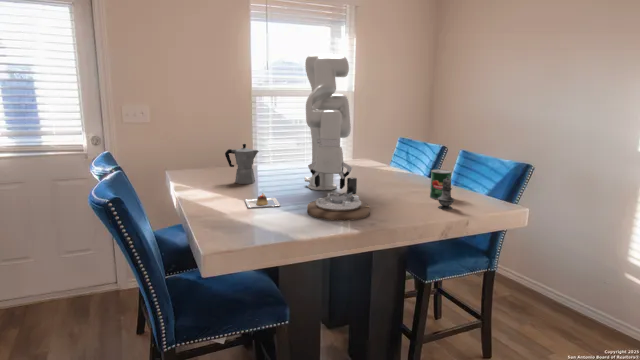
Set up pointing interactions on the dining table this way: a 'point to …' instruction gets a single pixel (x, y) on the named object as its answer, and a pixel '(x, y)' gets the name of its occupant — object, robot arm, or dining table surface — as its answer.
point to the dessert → (262, 201)
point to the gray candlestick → (446, 195)
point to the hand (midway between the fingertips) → (329, 187)
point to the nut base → (338, 213)
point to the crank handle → (341, 199)
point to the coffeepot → (243, 164)
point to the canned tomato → (438, 182)
